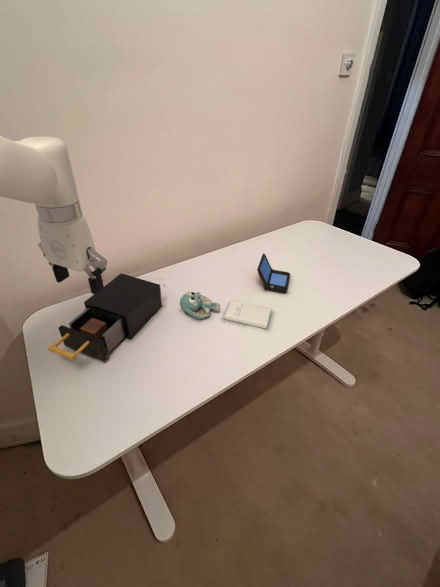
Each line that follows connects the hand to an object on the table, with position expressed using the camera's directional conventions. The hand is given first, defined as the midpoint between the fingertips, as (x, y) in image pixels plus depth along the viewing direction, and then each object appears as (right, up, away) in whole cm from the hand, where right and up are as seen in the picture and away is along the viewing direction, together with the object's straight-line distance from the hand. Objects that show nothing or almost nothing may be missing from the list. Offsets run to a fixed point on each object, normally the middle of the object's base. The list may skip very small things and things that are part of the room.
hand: (80, 284), depth 67 cm
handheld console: (+49, +2, +38) cm, 63 cm away
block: (-1, -13, +10) cm, 17 cm away
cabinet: (+4, -8, +21) cm, 23 cm away
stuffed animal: (+25, -7, +24) cm, 35 cm away
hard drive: (+39, -9, +23) cm, 47 cm away
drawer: (-1, -14, +11) cm, 18 cm away
